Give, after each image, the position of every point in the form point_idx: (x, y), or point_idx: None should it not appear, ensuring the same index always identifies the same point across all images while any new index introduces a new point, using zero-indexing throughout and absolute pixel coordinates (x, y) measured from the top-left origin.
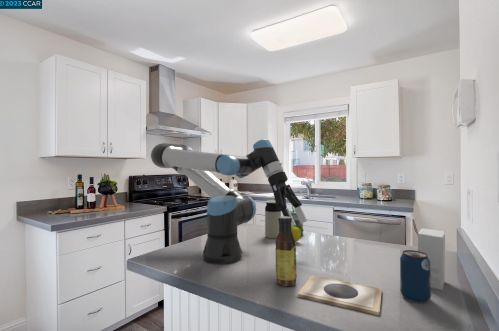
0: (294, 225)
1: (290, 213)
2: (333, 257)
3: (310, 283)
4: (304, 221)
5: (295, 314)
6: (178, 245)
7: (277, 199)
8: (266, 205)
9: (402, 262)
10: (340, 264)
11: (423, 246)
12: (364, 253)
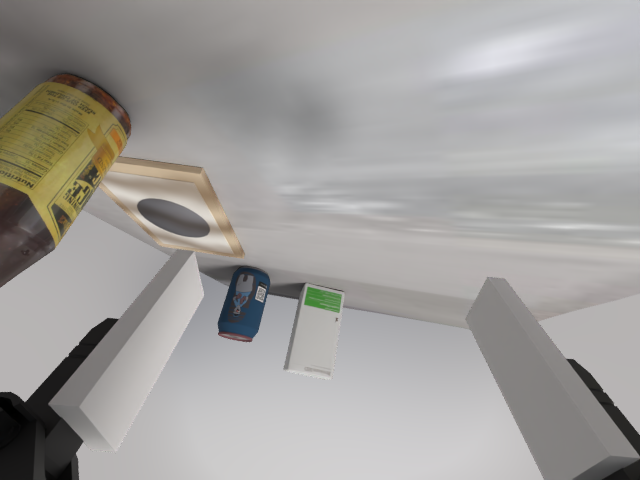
0: (198, 287)
1: (150, 382)
2: (429, 211)
3: (148, 174)
4: (474, 309)
5: None
6: None
7: None
8: None
9: (223, 318)
10: (359, 222)
11: (290, 347)
12: (483, 266)
